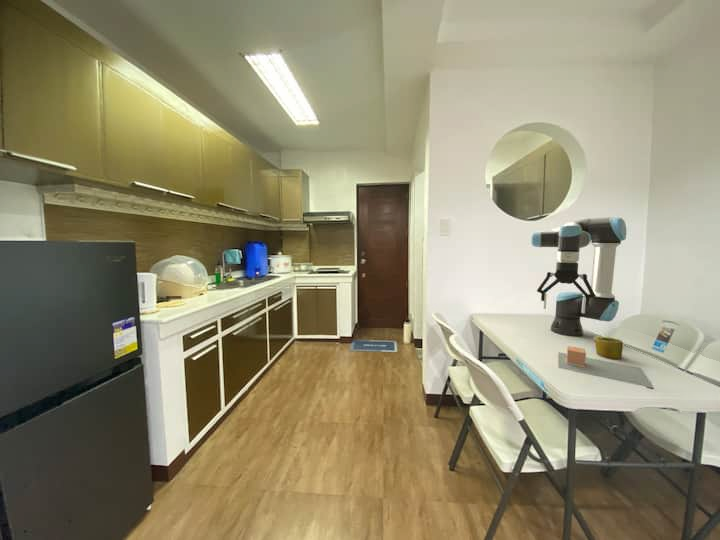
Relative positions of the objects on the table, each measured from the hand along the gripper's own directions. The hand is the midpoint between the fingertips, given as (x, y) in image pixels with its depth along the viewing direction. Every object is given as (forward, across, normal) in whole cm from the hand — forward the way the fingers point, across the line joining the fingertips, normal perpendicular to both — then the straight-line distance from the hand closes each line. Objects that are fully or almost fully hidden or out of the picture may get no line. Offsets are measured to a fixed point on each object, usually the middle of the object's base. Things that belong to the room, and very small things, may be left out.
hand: (563, 310), depth 122 cm
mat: (+23, +14, 0) cm, 26 cm away
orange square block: (+22, +6, 0) cm, 23 cm away
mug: (+23, +18, +20) cm, 35 cm away
